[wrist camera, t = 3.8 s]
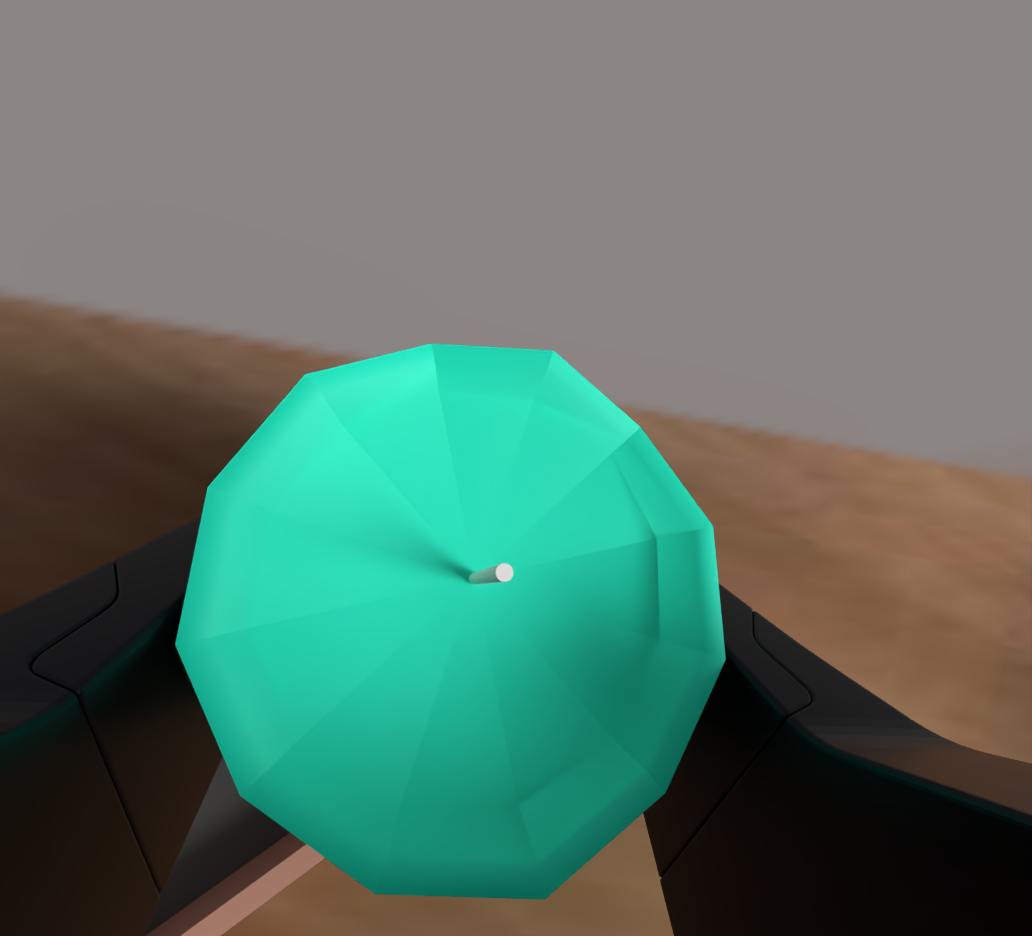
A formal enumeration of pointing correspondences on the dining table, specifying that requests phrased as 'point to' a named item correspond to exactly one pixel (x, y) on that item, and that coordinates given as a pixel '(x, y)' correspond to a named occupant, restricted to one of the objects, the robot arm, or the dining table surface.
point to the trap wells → (227, 865)
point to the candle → (452, 620)
